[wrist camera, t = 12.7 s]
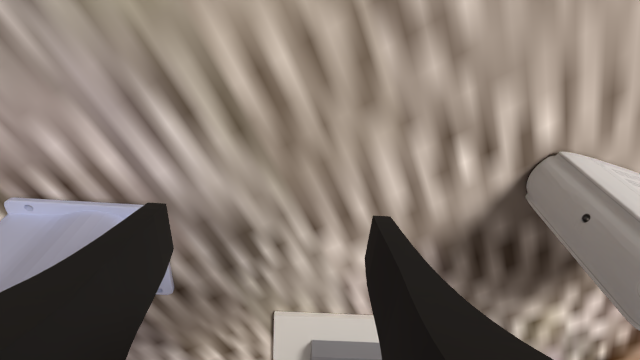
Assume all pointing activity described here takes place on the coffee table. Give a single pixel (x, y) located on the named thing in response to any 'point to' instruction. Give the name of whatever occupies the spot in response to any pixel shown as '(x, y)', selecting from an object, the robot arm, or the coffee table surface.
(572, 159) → the photo printer
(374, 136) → the coffee table surface
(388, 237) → the robot arm
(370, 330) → the plate
